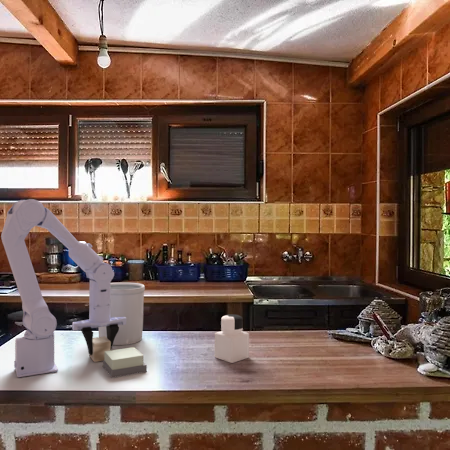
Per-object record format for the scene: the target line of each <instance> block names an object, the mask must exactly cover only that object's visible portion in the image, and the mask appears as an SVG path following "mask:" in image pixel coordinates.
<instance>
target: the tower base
mask: <svg viewBox="0 0 450 450" xmlns="http://www.w3.org/2000/svg"><path fill="white" fill-rule="evenodd" d="M102 368H103V369H104V370H105V372H106V373H107V374H108V375H109V377H110V378H111V379H113V378H119V377H124V376H125V377H126V376H130V375H136V374H142V373H147V372H148V371H147V368H148V367H147V364H146V363H145V362H144V361H143V365H140V366H134V367H128V368H122V369H116V370H112V369H111V368H110V367H109V365H108V364H107V363H106V362H105V360H103V361H102Z"/></svg>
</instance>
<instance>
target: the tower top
mask: <svg viewBox="0 0 450 450" xmlns="http://www.w3.org/2000/svg"><path fill="white" fill-rule="evenodd" d="M105 362H106V363H107V364H108V365H109V367H110V368H111V369H112V370H116V369H122V368H128V367H134V366H140V365H143V362H144V354H143V353H142V352H141V351H140V350H138V349H137V348H135V347H134V346H133V347H126V348H125V347H124V348H118V349H111V350H110V351H105Z"/></svg>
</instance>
